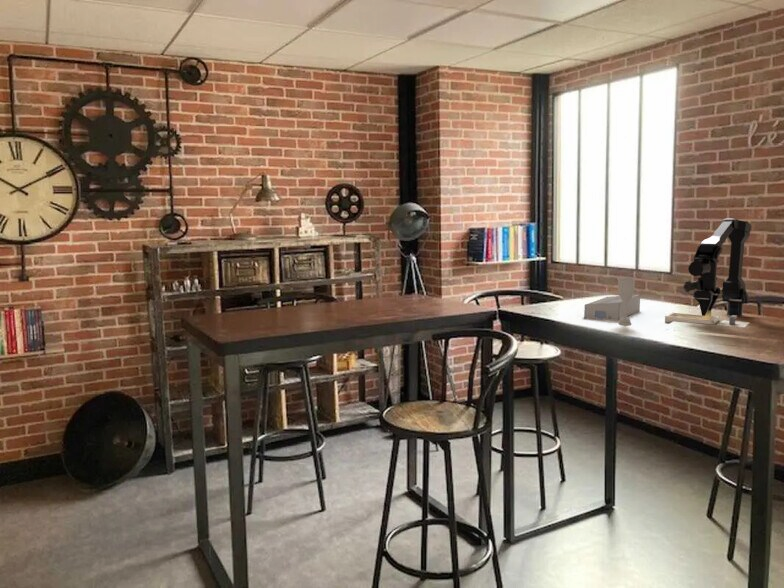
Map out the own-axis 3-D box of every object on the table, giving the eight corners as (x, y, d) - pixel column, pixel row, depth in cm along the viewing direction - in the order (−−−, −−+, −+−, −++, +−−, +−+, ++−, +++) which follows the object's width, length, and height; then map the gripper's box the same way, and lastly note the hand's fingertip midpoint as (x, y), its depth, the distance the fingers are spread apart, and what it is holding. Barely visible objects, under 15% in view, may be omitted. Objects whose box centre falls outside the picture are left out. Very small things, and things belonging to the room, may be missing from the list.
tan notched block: (708, 323, 253) (709, 311, 253) (674, 320, 261) (675, 309, 260) (712, 321, 258) (712, 309, 258) (678, 318, 266) (679, 307, 265)
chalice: (621, 325, 254) (623, 279, 251) (611, 323, 260) (613, 278, 258) (638, 324, 256) (640, 279, 253) (627, 322, 262) (629, 277, 260)
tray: (672, 318, 270) (672, 312, 269) (719, 322, 259) (719, 316, 259) (664, 322, 261) (665, 316, 260) (713, 326, 250) (713, 320, 250)
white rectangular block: (722, 322, 259) (723, 312, 259) (749, 325, 253) (750, 314, 253) (716, 327, 249) (716, 317, 248) (744, 330, 243) (744, 319, 243)
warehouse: (607, 308, 299) (607, 292, 298) (639, 311, 291) (640, 294, 290) (584, 318, 275) (584, 300, 274) (618, 321, 266) (619, 302, 265)
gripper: (691, 271, 267) (689, 309, 269) (680, 275, 252) (678, 315, 254) (721, 272, 260) (719, 311, 262) (711, 277, 245) (709, 318, 247)
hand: (706, 314), depth 256 cm, fingers open, 9 cm apart
